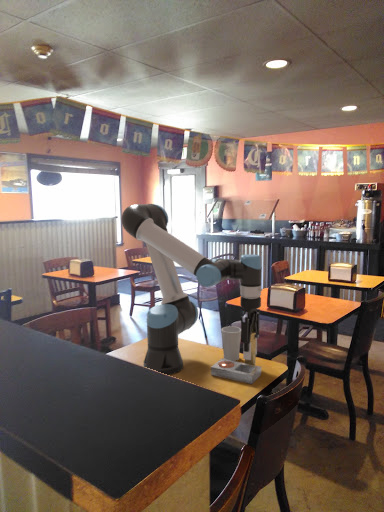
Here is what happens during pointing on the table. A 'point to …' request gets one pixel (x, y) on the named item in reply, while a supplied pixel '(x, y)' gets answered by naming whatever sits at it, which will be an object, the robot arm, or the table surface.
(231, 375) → the plate with copper dome
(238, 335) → the cup
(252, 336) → the brass cylinder with tabs
